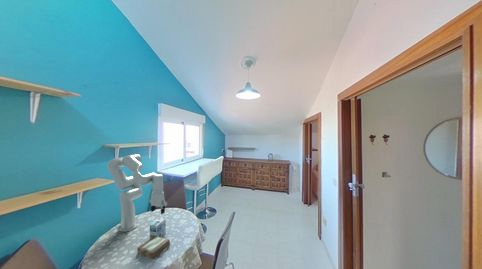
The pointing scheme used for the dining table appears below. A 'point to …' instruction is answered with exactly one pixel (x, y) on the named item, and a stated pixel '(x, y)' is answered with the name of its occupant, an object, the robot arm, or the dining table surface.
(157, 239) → the plinth
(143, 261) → the dining table surface
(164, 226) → the light bulb box
